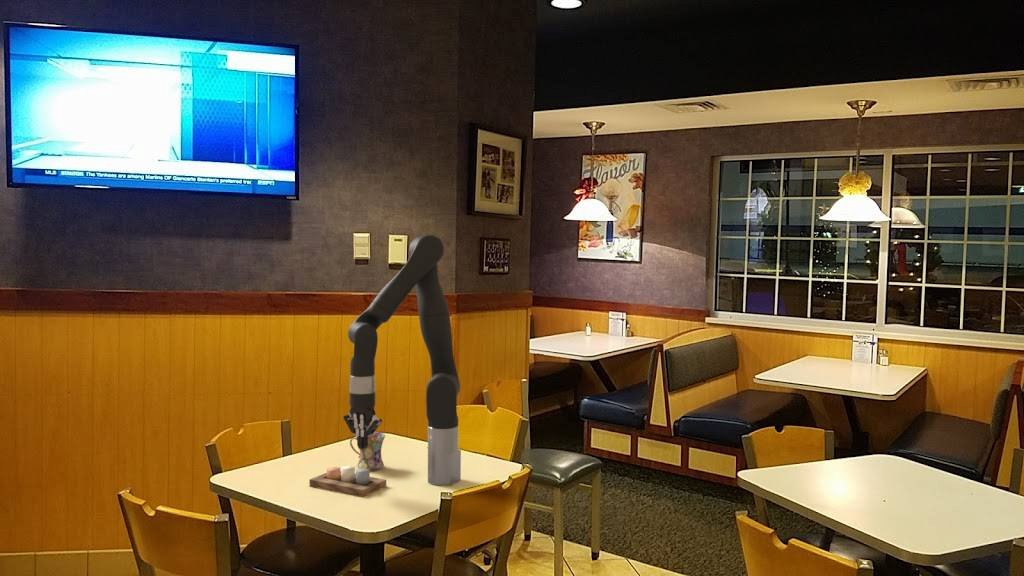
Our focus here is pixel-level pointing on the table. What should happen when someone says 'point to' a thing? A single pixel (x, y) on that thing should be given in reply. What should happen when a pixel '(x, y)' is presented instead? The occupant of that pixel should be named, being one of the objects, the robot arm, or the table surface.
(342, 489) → the button board
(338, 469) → the salmon pink cube
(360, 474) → the light blue cube
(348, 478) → the button mid
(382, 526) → the table surface
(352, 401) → the robot arm
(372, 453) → the mug
